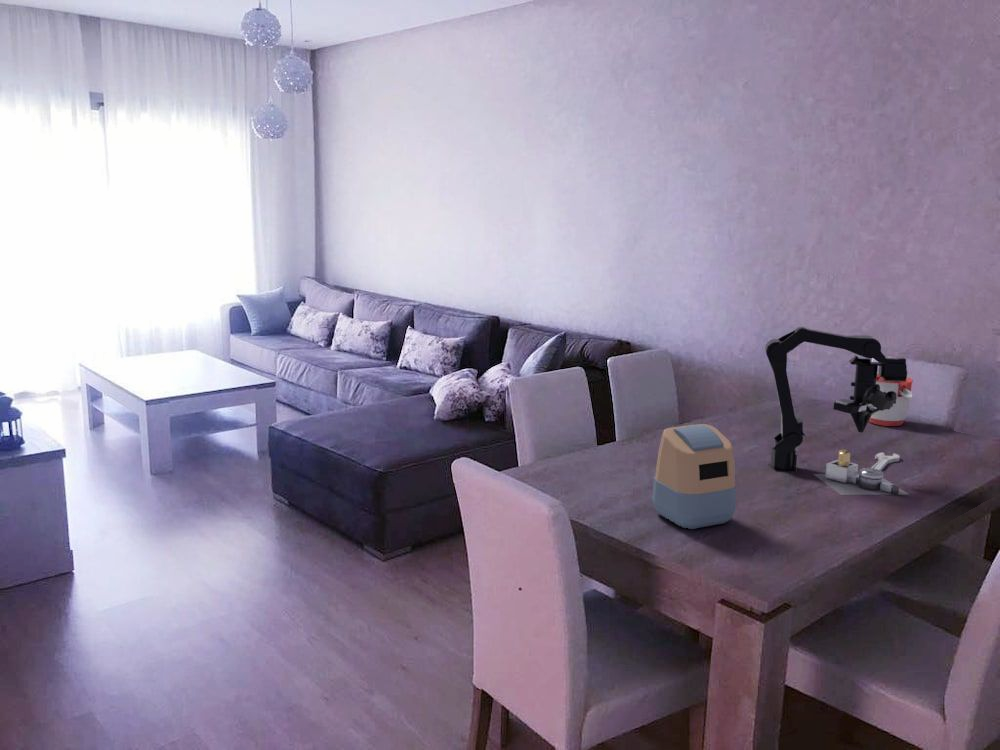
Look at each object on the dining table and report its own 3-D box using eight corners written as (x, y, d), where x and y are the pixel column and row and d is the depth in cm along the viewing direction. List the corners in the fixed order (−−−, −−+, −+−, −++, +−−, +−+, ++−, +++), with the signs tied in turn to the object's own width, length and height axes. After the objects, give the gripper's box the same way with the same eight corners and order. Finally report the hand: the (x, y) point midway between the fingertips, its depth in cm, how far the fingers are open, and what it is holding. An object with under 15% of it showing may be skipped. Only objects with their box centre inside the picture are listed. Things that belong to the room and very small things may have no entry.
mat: (840, 495, 220) (840, 494, 220) (813, 474, 237) (813, 474, 237) (909, 495, 220) (909, 494, 220) (876, 474, 238) (876, 473, 238)
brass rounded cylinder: (844, 477, 231) (846, 458, 226) (834, 473, 233) (835, 453, 229) (850, 471, 232) (852, 452, 228) (840, 467, 234) (842, 447, 230)
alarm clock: (685, 535, 193) (690, 442, 188) (645, 512, 208) (649, 425, 203) (740, 524, 199) (746, 434, 194) (698, 503, 214) (703, 418, 209)
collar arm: (903, 491, 222) (905, 476, 221) (892, 495, 218) (894, 480, 217) (836, 473, 236) (837, 459, 236) (825, 477, 233) (826, 463, 232)
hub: (864, 492, 223) (865, 474, 222) (853, 484, 229) (855, 467, 228) (885, 491, 223) (887, 474, 222) (875, 484, 229) (876, 467, 228)
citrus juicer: (889, 431, 285) (895, 376, 281) (852, 419, 301) (857, 367, 297) (922, 427, 291) (928, 373, 287) (884, 416, 307) (889, 364, 303)
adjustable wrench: (875, 479, 235) (875, 473, 235) (852, 474, 239) (853, 469, 239) (901, 459, 253) (902, 454, 253) (880, 455, 258) (880, 450, 257)
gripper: (867, 388, 221) (862, 443, 224) (912, 382, 229) (906, 434, 232) (834, 380, 231) (829, 433, 234) (878, 375, 239) (873, 426, 242)
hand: (860, 432), depth 235 cm, fingers closed
